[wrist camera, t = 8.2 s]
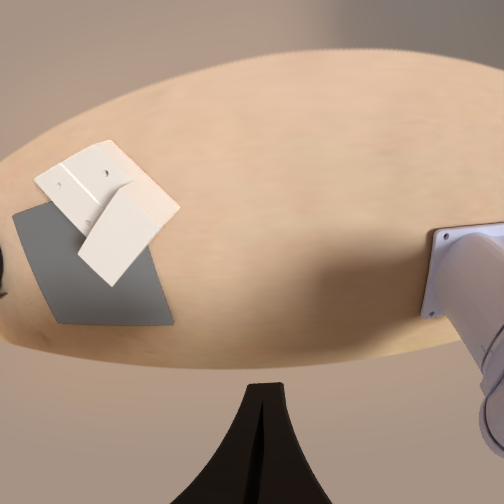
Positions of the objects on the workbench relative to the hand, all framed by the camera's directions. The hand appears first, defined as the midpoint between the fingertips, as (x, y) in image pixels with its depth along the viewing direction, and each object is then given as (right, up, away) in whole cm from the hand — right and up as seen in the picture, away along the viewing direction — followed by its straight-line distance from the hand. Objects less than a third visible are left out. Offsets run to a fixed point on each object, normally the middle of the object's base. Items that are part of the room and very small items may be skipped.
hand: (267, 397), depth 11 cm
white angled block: (-7, +6, +7) cm, 12 cm away
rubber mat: (-15, +5, +10) cm, 19 cm away
